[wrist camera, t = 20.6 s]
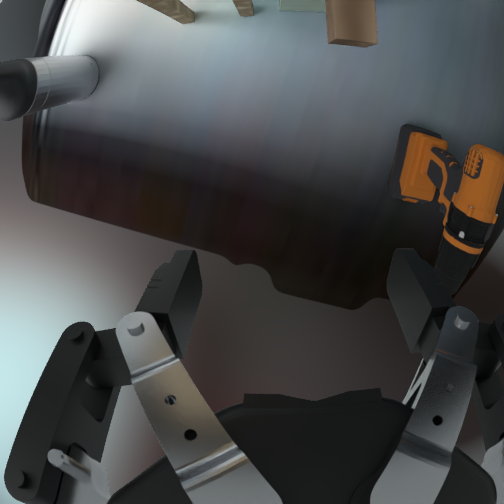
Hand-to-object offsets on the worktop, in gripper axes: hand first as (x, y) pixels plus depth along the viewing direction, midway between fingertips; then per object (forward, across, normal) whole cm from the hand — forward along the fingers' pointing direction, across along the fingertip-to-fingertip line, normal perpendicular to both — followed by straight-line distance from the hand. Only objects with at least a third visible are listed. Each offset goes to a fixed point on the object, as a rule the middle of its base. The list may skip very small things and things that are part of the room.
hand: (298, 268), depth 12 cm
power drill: (+40, +24, -8) cm, 48 cm away
